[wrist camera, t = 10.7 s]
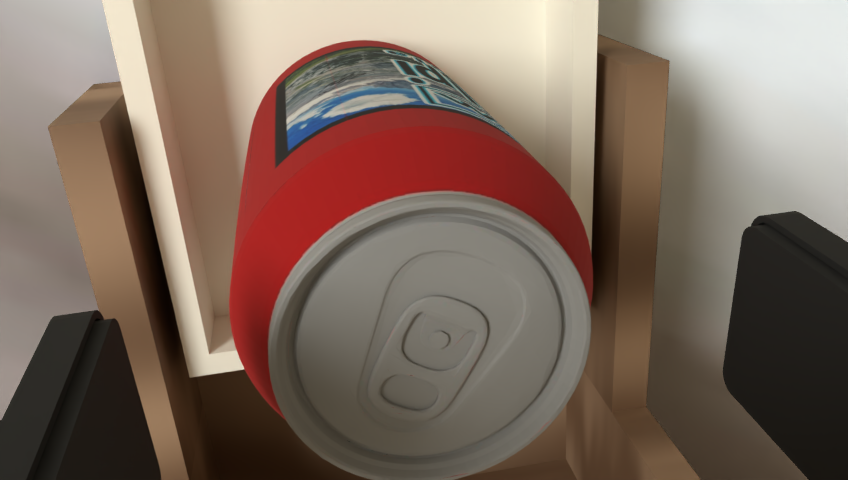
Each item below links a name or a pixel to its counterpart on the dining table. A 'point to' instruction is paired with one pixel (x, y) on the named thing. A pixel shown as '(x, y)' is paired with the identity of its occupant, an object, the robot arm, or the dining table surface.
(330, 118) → the beverage can
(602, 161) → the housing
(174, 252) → the tray
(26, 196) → the dining table surface
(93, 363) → the robot arm
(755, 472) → the dining table surface
